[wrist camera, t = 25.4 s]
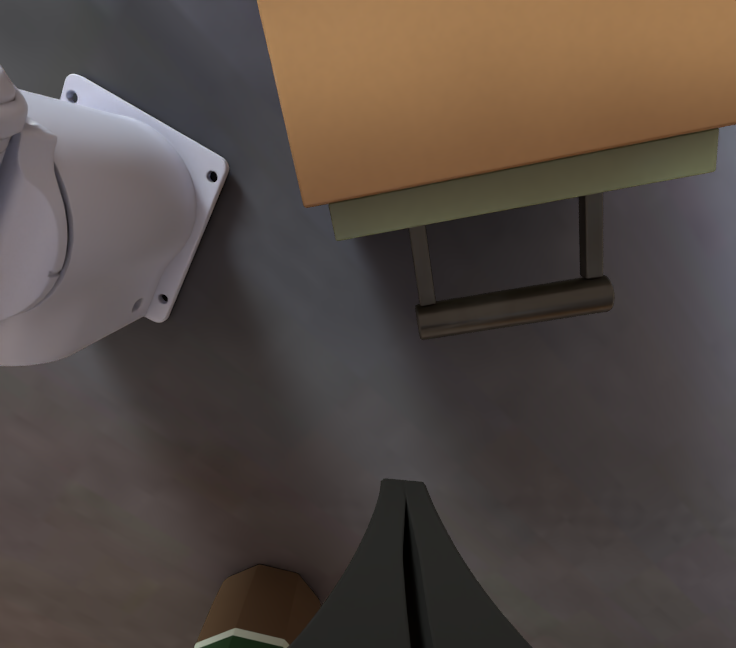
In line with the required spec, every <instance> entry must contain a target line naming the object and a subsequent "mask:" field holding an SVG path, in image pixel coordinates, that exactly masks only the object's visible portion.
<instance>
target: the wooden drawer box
mask: <svg viewBox="0 0 736 648" xmlns="http://www.w3.org/2000/svg"><path fill="white" fill-rule="evenodd" d="M257 3H258V8H259V12H260V16H261V21H262V25H263V30H264V34H265V38H266V43H267V47H268V52H269V56H270V60H271V65H272V69H273V74H274V78H275V82H276V87H277V91H278V95H279V100H280V104H281V109H282V113H283V117H284V122H285V126H286V131H287V135H288V139H289V144H290V148H291V153H292V157H293V161H294V166H295V170H296V175H297V179H298V183H299V188H300V192H301V197H302V201H303V205H304V207H306V208H309V207H314V206H319V205H324V204H329V203H335V202H340V201H345V200H350V199H355V198H360V197H365V196H371V195H376V194H381V193H386V192H391V191H396V190H401V189H407V188H412V187H417V186H422V185H427V184H432V183H437V182H442V181H448V180H453V179H458V178H463V177H468V176H473V175H478V174H484V173H489V172H494V171H499V170H504V169H509V168H514V167H520V166H525V165H530V164H535V163H540V162H545V161H550V160H555V159H561V158H566V157H571V156H576V155H581V154H586V153H591V152H597V151H602V150H607V149H612V148H617V147H622V146H627V145H633V144H638V143H643V142H648V141H653V140H658V139H663V138H668V137H674V136H679V135H684V134H689V133H694V132H699V131H704V130H710V129H715V128H720V127H725V126H730V125H735V124H736V0H257Z"/></svg>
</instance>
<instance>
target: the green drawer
mask: <svg viewBox="0 0 736 648" xmlns="http://www.w3.org/2000/svg"><path fill="white" fill-rule="evenodd" d="M718 134H719V128H715V129H710V130H704V131H699V132H694V133H689V134H684V135H679V136H674V137H668V138H663V139H658V140H653V141H648V142H643V143H638V144H633V145H627V146H622V147H617V148H612V149H607V150H602V151H597V152H591V153H586V154H581V155H576V156H571V157H566V158H561V159H555V160H550V161H545V162H540V163H535V164H530V165H525V166H520V167H514V168H509V169H504V170H499V171H494V172H489V173H484V174H478V175H473V176H468V177H463V178H458V179H453V180H448V181H442V182H437V183H432V184H427V185H422V186H417V187H412V188H407V189H401V190H396V191H391V192H386V193H381V194H376V195H371V196H365V197H360V198H355V199H350V200H345V201H340V202H335V203H329V210H330V215H331V219H332V224H333V229H334V234H335V239H336V241H341V240H346V239H352V238H357V237H363V236H368V235H374V234H379V233H384V232H390V231H395V230H401V229H406V228H408V230H409V237H410V244H411V250H412V257H413V263H414V270H415V277H416V283H417V290H418V296H419V302H420V304H417V305H415V312H416V318H417V325H418V331H419V336H420V339H421V340H426V339H433V338H439V337H446V336H452V335H459V334H465V333H472V332H478V331H485V330H491V329H498V328H504V327H511V326H517V325H524V324H530V323H537V322H543V321H550V320H556V319H563V318H569V317H576V316H582V315H589V314H595V313H602V312H608V311H609V310H611V309H612V307H613V305H614V299H615V296H614V289H613V285H612V283H611V281H610V279H609V278H608V277H607V276H606V275H603V192H607V191H613V190H618V189H623V188H629V187H634V186H640V185H645V184H651V183H656V182H661V181H667V180H672V179H678V178H683V177H689V176H694V175H699V174H705V173H710V172H714V171H715V170H716V159H717V146H718ZM575 197H579V244H580V275H581V276H582V277H581V278H575V279H569V280H563V281H557V282H551V283H545V284H539V285H533V286H526V287H520V288H514V289H508V290H502V291H496V292H490V293H484V294H478V295H471V296H465V297H459V298H453V299H447V300H441V301H436V298H435V291H434V284H433V276H432V269H431V262H430V255H429V247H428V240H427V233H426V226H425V225H428V224H433V223H439V222H444V221H450V220H455V219H460V218H466V217H471V216H477V215H482V214H488V213H493V212H498V211H504V210H509V209H515V208H520V207H526V206H531V205H537V204H542V203H547V202H553V201H558V200H564V199H569V198H575Z"/></svg>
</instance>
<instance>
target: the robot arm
mask: <svg viewBox="0 0 736 648" xmlns="http://www.w3.org/2000/svg"><path fill="white" fill-rule="evenodd" d="M74 93H76V94H77V96H78V101H77V102H76V103H75V102H74V100H73V95H74ZM213 171H214V172H215V173H216V174H217V176H218V178H217V181H216V182H213V181H212V180H211V178H210V174H211V173H212V172H213ZM228 172H229V164H228V163H227V161H226V160H225V159H224V158H223V157H221V156H219V155H218V154H216V153H214V152H213V151H211V150H209V149H207V148H206V147H204V146H202V145H200V144H199V143H197V142H195V141H193V140H192V139H190V138H188V137H187V136H185V135H183V134H181V133H180V132H178V131H176V130H174V129H173V128H171V127H169V126H168V125H166V124H164V123H162V122H161V121H159V120H157V119H155V118H154V117H152V116H150V115H149V114H147V113H145V112H143V111H142V110H140V109H138V108H136V107H135V106H133V105H131V104H129V103H128V102H126V101H124V100H123V99H121V98H119V97H117V96H116V95H114V94H112V93H110V92H109V91H107V90H105V89H104V88H102V87H100V86H98V85H97V84H95V83H93V82H91V81H90V80H88V79H86V78H85V77H82V76H79V75H77V74H70V75H69V76H67V78H66V80H65V83H64V87H63V91H62V95H61V99H60V100H59V99H55V98H51V97H47V96H43V95H39V94H35V93H31V92H27V91H24V90H20V89H17V87H16V86H15V85H14V84H13V83H12V82H11V80H10V79H9V77H8V76H7V74H6V73H5V71H4V69H3V68H2V66H1V65H0V366H26V365H37V364H43V363H48V362H53V361H57V360H60V359H63V358H66V357H68V356H70V355H72V354H74V353H76V352H78V351H80V350H82V349H84V348H85V347H87V346H89V345H91V344H93V343H95V342H97V341H99V340H100V339H102V338H104V337H106V336H108V335H110V334H112V333H113V332H115V331H117V330H119V329H121V328H123V327H125V326H127V325H128V324H130V323H132V322H134V321H136V320H138V319H140V318H141V317H143V316H144V317H146V318H148V319H150V320H152V321H154V322H157V323H161V322H163V321H165V320H167V319H168V317H169V315H170V313H171V310H172V308H173V305H174V303H175V301H176V298H177V296H178V293H179V291H180V289H181V286H182V284H183V281H184V279H185V276H186V274H187V272H188V269H189V267H190V264H191V262H192V260H193V257H194V255H195V252H196V250H197V247H198V245H199V243H200V240H201V238H202V235H203V233H204V231H205V228H206V226H207V223H208V221H209V218H210V216H211V214H212V211H213V209H214V206H215V204H216V202H217V199H218V197H219V194H220V192H221V189H222V187H223V185H224V182H225V180H226V177H227V175H228ZM162 294H164V295H166V296H167V298H168V302H167V301H165V300H163V298H162ZM287 648H532V647H531V646H530V645H529V644H528V642H527V641H526V640H525V639H524V638H523V637H522V636H521V635H520V633H519V632H518V631H517V630H516V629H515V628H514V626H513V625H512V624H511V623H510V622H509V621H508V620H507V618H506V617H505V616H504V615H503V614H502V613H501V611H500V610H499V609H498V608H497V606H496V605H495V604H494V603H493V601H492V600H491V599H490V597H489V596H488V595H487V593H486V592H485V591H484V589H483V588H482V587H481V585H480V584H479V582H478V581H477V580H476V578H475V577H474V575H473V574H472V572H471V571H470V569H469V568H468V566H467V565H466V563H465V562H464V560H463V558H462V557H461V555H460V554H459V552H458V550H457V549H456V547H455V545H454V544H453V542H452V540H451V538H450V536H449V535H448V533H447V531H446V529H445V527H444V525H443V523H442V521H441V519H440V517H439V515H438V513H437V511H436V509H435V507H434V505H433V503H432V500H431V498H430V496H429V493H428V491H427V488H426V485H425V484H424V483H423V482H417V481H406V480H395V479H383V480H382V481H381V486H380V493H379V497H378V501H377V504H376V507H375V510H374V513H373V515H372V518H371V520H370V523H369V525H368V528H367V530H366V532H365V534H364V537H363V539H362V541H361V543H360V545H359V547H358V549H357V551H356V553H355V555H354V556H353V558H352V560H351V562H350V564H349V565H348V567H347V569H346V570H345V572H344V574H343V575H342V577H341V579H340V580H339V582H338V583H337V585H336V586H335V588H334V589H333V591H332V592H331V594H330V595H329V597H328V598H327V600H326V601H325V602H324V604H323V605H322V606H321V608H320V609H319V610H318V612H317V613H316V614H315V615H314V617H313V618H312V619H311V621H310V622H309V623H308V624H307V626H306V627H305V628H304V629H303V631H302V632H301V633H300V634H299V635H298V636H297V638H296V639H295V640H294V641H293V642H292V643H291V644H290V645H289V646H288V647H287Z"/></svg>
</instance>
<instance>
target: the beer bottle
mask: <svg viewBox="0 0 736 648" xmlns="http://www.w3.org/2000/svg"><path fill="white" fill-rule="evenodd" d="M320 605H321V604H320V601H319V599H318V597H317V596H316V595H315V594H314V593H313V591H312V590H311V589H310V588H309V587H308V585H307V584H306V583H305V582H304V580H303V579H302V578H301V577H300V576H299V574H298V573H294V572H289V571H285V570H281V569H277V568H273V567H269V566H265V565H260V564H259V565H257V566H254V567H252V568H249V569H247V570H245V571H242V572H240V573H238V574H235V575H233V576H230V577H228V578H227V579H226V580H225V581H224V582H223V584H222V586H221V588H220V590H219V592H218V594H217V596H216V598H215V600H214V602H213V604H212V606H211V609H210V611H209V614H208V616H207V618H206V621H205V623H204V625H203V628H202V630H201V633H200V635H199V637H198V640H197V642H196V644H195V647H194V648H287V647H288V646H289V645H290V644H291V643H292V642H293V641H294V640H295V639H296V638H297V636H298V635H299V634H300V633H301V632H302V631H303V629H304V628H305V627H306V626H307V624H308V623H309V622H310V621H311V619H312V618H313V617H314V615H315V614H316V613H317V612H318V610H319V609H320Z"/></svg>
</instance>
